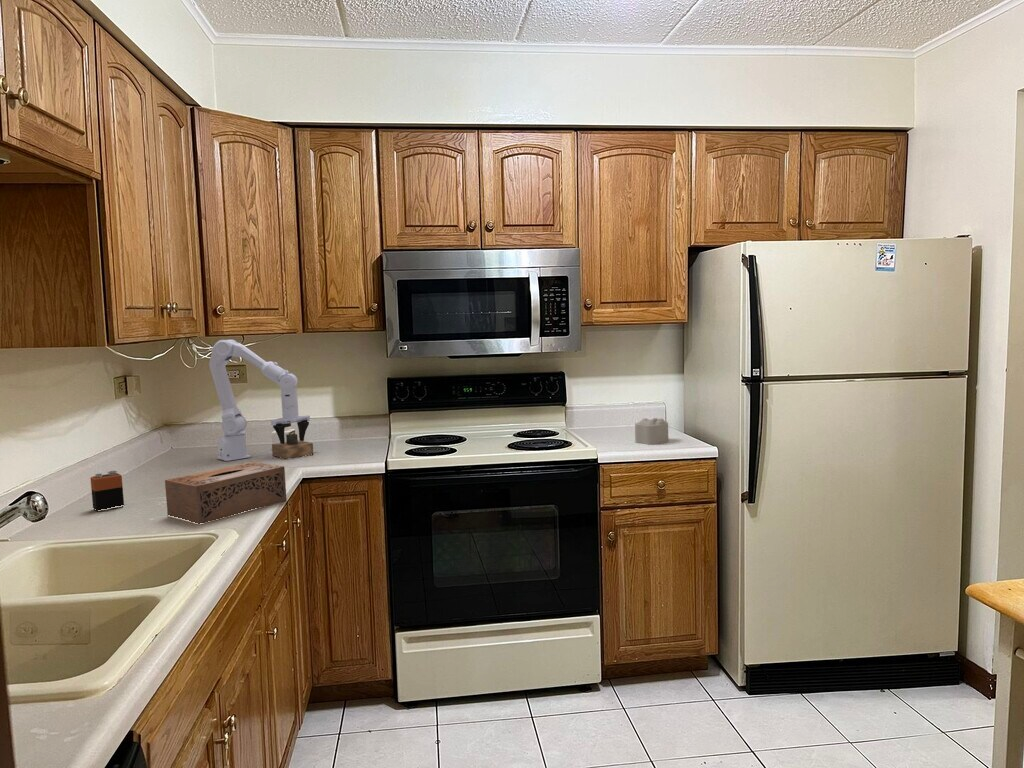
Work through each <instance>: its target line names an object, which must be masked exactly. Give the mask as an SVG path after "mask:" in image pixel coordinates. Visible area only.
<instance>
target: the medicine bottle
mask: <svg viewBox="0 0 1024 768" xmlns="http://www.w3.org/2000/svg"><path fill="white" fill-rule="evenodd" d="M280 418H281V417H280ZM280 418H278V419H280ZM287 422H291V421H287ZM282 425H283V426H285V429H284V439H285V442H287V441H286V435H288V434H296V429H295V428H292V423H287V424H282ZM278 443H280V440H279V437H278V435H277V433H276V431H275V430H273V431H272V432H271V445H272V444H278Z"/></svg>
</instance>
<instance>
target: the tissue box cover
mask: <svg viewBox="0 0 1024 768" xmlns="http://www.w3.org/2000/svg"><path fill="white" fill-rule="evenodd" d="M285 468H286V467H285V466H284V465H283V466H282V465H276V464H270V463H263V462H258V461H257V462H256V461H250V462H246V463H240V464H236V465H231V466H226V467H222V468H217V469H213V470H207V471H202V472H197V473H193V474H188V475H184V476H179V477H174V478H168V479H165V480H164V485H165V486H164V487H165V498H166V500H165V501H166V510H167V512H166V513H167V516H168V515H170V516H174V517H178V518H182V519H185V520H189V521H191V522H195V523H198V524H200V523H205V522H208V521H212V520H216V519H219V520H221V519H220V518H223V517H227V518H229V517H228V516H230V517H232V516H231V515H234V514H238V513H241V512H244V511H248V510H251V509H255V508H259V507H263V508H265V507H264V506H267V507H270V506H273V505H278V504H281V503H284V502H287V501H288V499H287V489H286V472H285V471H286V469H285ZM259 509H260V508H259ZM248 512H249V511H248ZM241 514H242V513H241ZM238 515H239V514H238ZM234 516H235V515H234ZM223 519H224V518H223ZM216 521H217V520H216ZM212 522H213V521H212ZM208 523H209V522H208ZM205 524H206V523H205Z"/></svg>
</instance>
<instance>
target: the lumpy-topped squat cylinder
mask: <svg viewBox="0 0 1024 768" xmlns="http://www.w3.org/2000/svg"><path fill="white" fill-rule="evenodd" d="M634 437H635V438H634V440H635V441H634V442H635V443H636V444H642V445H648V446H654V445H656V446H657V445H662V444H665V443H666V444H667V443H668V442H669V422H668V421H666V420H664V419H663V418H656V417H654V418H651V419H648V418H643V419H641V420H640V421H638V422H635V424H634Z"/></svg>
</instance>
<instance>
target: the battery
mask: <svg viewBox="0 0 1024 768" xmlns="http://www.w3.org/2000/svg"><path fill="white" fill-rule="evenodd" d="M89 479H90V488H91V489H90V491H91V500H92V508H94V509H93V510H95V509H96V510H101V509H107V508H111V507H115V506H121V505H124V506H125V498H124V487H123V477H122V474H120V473H118V471H117V470H109V471H107V474H102V473H95V474H94V476H91V477H90V478H89ZM96 510H95V511H96Z"/></svg>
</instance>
